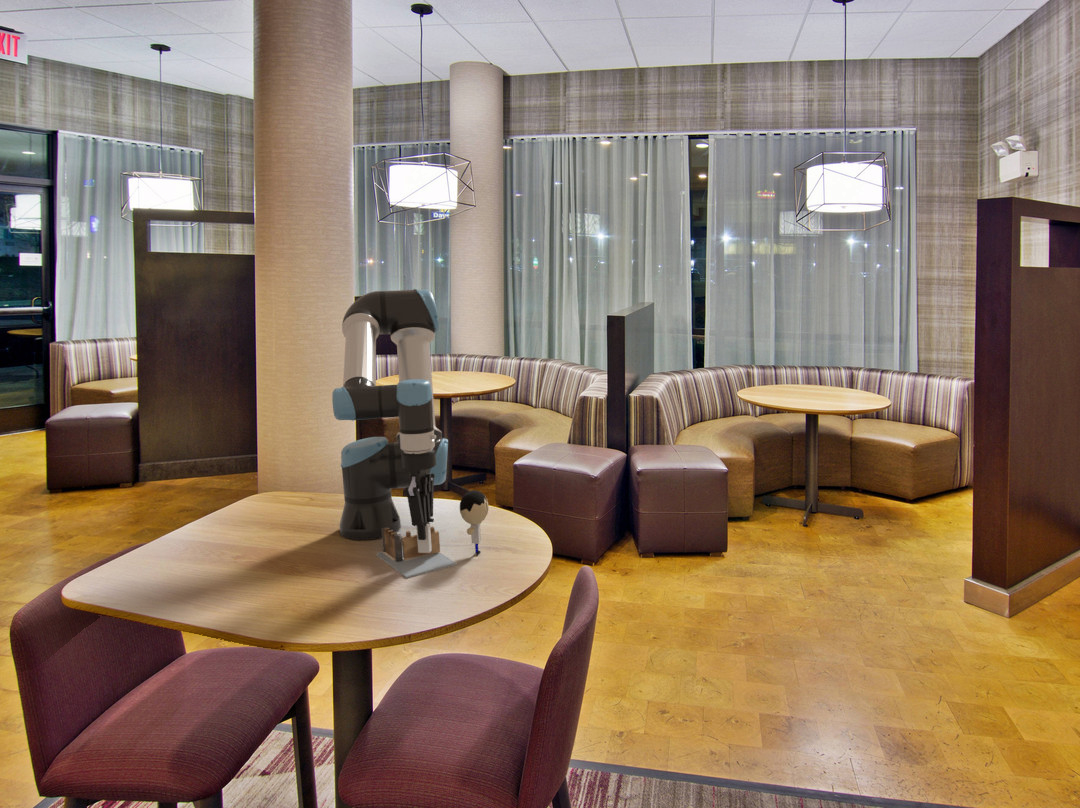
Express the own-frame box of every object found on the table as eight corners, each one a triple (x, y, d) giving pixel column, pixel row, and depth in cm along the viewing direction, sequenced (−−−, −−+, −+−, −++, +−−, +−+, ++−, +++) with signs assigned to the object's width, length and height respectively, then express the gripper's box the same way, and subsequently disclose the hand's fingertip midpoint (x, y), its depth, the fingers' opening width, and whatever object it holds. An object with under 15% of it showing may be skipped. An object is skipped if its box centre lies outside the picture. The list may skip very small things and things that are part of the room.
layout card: (376, 555, 178) (376, 553, 178) (423, 543, 185) (423, 541, 185) (406, 578, 164) (406, 576, 164) (456, 564, 171) (456, 562, 171)
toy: (485, 561, 172) (482, 497, 169) (457, 560, 173) (453, 496, 171) (495, 547, 180) (492, 486, 178) (468, 546, 182) (464, 485, 179)
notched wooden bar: (404, 559, 173) (402, 533, 172) (403, 557, 174) (401, 532, 173) (440, 552, 177) (438, 527, 176) (438, 550, 178) (437, 525, 177)
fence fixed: (382, 552, 180) (380, 526, 179) (388, 551, 181) (386, 525, 179) (397, 564, 172) (395, 536, 171) (404, 562, 173) (402, 535, 172)
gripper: (424, 457, 162) (431, 562, 166) (443, 443, 175) (449, 542, 179) (390, 456, 164) (398, 561, 168) (412, 443, 177) (419, 541, 180)
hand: (425, 551), depth 173 cm, fingers closed
